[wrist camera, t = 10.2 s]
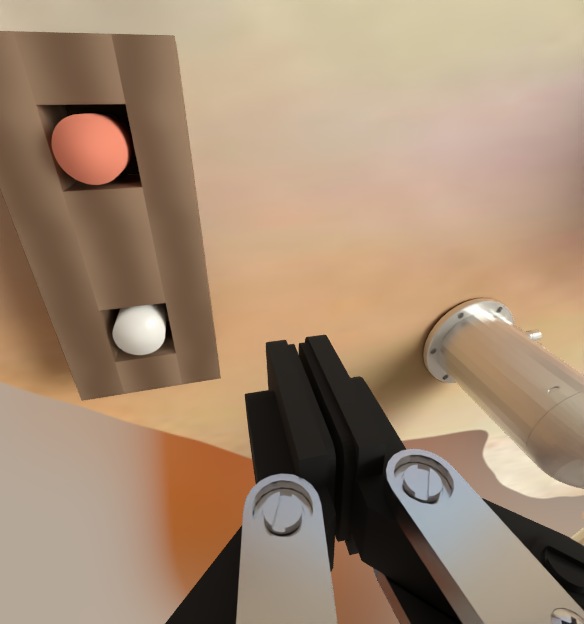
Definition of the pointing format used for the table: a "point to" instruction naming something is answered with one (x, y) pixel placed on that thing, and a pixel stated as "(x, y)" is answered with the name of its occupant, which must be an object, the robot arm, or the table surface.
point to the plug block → (108, 206)
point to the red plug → (92, 147)
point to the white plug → (140, 328)
